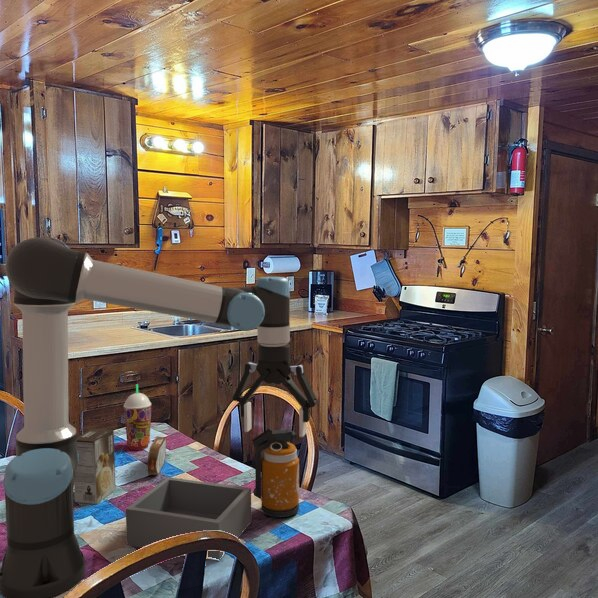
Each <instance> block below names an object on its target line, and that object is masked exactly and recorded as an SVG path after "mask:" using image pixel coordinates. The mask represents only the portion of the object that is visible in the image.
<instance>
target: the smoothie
mask: <svg viewBox="0 0 598 598" xmlns="http://www.w3.org/2000/svg"><path fill="white" fill-rule="evenodd" d="M123 412H124V414H123V415H124V423H125V435H126V444H127V446H128V448H129V449H130V450H132V451H141V449H142V450H145V449H147V448H148V447H149V444H150V443H151V442H150V441H151V421H152V420H151V419H152V418H151V417H152V402H151V401H150V399H149V397H148V396H147V395H146V394H144V393H143V392H142V393H141V392H139V384H138V383H137V384H135V392H134V393H132V394H130V395H129V396H128V397H126V399H125V402H124V404H123Z"/></svg>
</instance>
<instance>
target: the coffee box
mask: <svg viewBox="0 0 598 598" xmlns="http://www.w3.org/2000/svg"><path fill="white" fill-rule="evenodd" d="M114 431H115V430H114V429H109V428H108V429H105V428H90V429H88V430H87V431H86V432H85V431H84V433H81V434H80V435H79V436H76V441H77V452H78V456H79V462H78V468H77V471H76V476H75V482H74V489H73V492H74V502H75V503H81V504H92V505H98V504H99V503H101V502H102V501H103V500H104V499H106V498H107V497H108V496H109V495H110V494H111V493H113V492H114V491H115V490H116V488H117V487H116V463H115V462H116V460H115V457H116V455H115V436H114V435H115V434H114Z"/></svg>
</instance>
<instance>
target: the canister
mask: <svg viewBox="0 0 598 598" xmlns="http://www.w3.org/2000/svg"><path fill="white" fill-rule="evenodd" d="M297 437H298V436H297V434H296V431H293V430H291V429H290V428H286V429H279V430H271V429H270V428H267V429H266V430H264V431H263V432H261V433H259V434H257V436H255V437H254V438H253V439H251V441H252V444H253V447H254V451H255V453H254V462H255V464H254V465H255V469H254V470H255V473H254V474H255V475H254V476H255V485H254V486H255V487H254V489H253V491H252V493H253V496H254V497H256V498H258V499H259V500H260V502H261V506H260V507H261V508H260V509H261V512H262V513H264V514H265V515H267V516H270V517H273V516H274V518H286V517H291V516H292V515H295V514H296V513H297V512H298V511H299V509H300V458H299V457H298V455H297V452H298V450H297V447H296V445H295V444H293V443H292V439H293V440H295V439H296V438H297ZM262 451H263V457H262Z"/></svg>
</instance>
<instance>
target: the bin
mask: <svg viewBox="0 0 598 598" xmlns="http://www.w3.org/2000/svg"><path fill="white" fill-rule="evenodd" d="M250 522H251V523H252V488H251V487H245V486H237V485H230V484H229V485H228V484H221V483H214V482H206V481H199V480H191V479H185V478H184V479H183V478H177V477H166V478H165V479H163V480H162V481H160V482H159V483H157V485H155V486H154V487H153V488H151V489H150V490H149V491H147V492H146V493H144V494H143V495H142V496H141V497H139V498H138V499H137V500H136V501H134V502H133V503H131V504H130V505H129V506H128V507H126V508H125V523H126V524H125V525H126V527H125V528H126V531H125V532H126V546H129V547H130V546H131V547H134V548H135V547H136V548H141V547H143V546H145V545H148V544H151V543H153V542H156V541H159V540H162V539H166V538H169V537H172V536H176V535H180V534H185V533H190V532H196V531H203V530H222V531H225V532H228V533H231V534H233V535H235V536H237V537H239V538H240V536H241V535H242V534H243V533H242V531H243V530H244V529H245V528H246V527H247V525H248V524H249V523H250ZM251 523H250V524H251ZM250 524H249V525H250ZM249 525H248V526H249ZM247 528H248V527H247ZM247 528H246V529H247ZM246 529H245V530H246ZM245 530H244V531H245ZM241 533H242V534H241ZM240 534H241V535H240ZM239 535H240V536H239ZM222 555H223V552H220V551H208V557H212V558H216V559H219V560H220V558H221V557H222ZM220 561H221V560H220Z"/></svg>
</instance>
